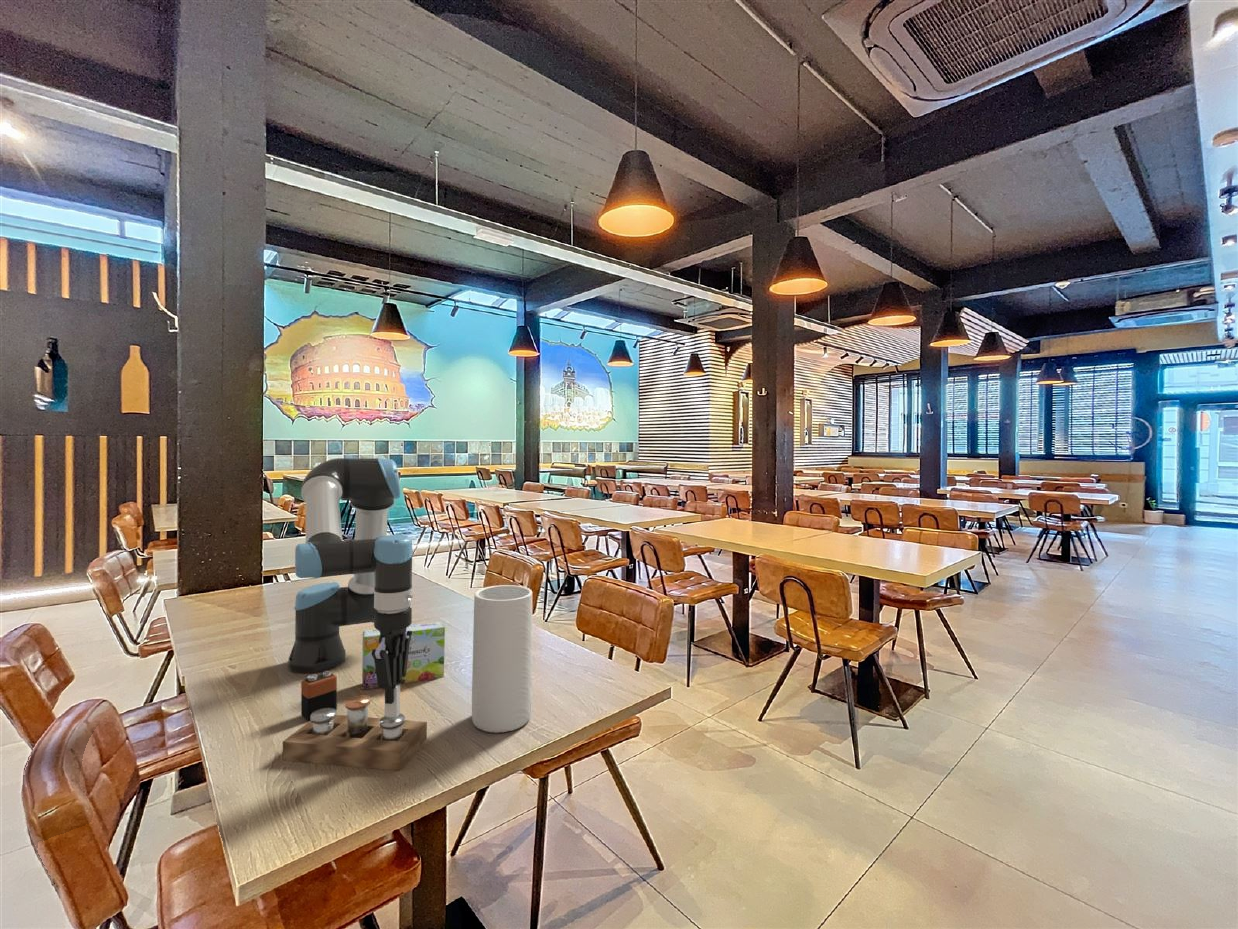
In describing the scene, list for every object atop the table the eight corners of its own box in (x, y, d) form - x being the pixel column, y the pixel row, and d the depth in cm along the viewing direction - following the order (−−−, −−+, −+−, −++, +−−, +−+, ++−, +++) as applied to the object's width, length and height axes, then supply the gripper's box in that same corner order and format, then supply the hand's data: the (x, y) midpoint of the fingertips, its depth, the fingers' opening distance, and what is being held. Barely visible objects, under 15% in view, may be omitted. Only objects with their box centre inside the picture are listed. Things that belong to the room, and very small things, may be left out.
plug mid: (339, 734, 117) (339, 704, 116) (353, 722, 122) (353, 694, 121) (361, 736, 116) (361, 706, 116) (374, 724, 121) (374, 695, 121)
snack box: (363, 691, 146) (363, 636, 146) (362, 683, 151) (362, 630, 151) (444, 677, 156) (445, 626, 155) (441, 670, 161) (441, 620, 160)
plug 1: (305, 747, 118) (305, 718, 117) (320, 735, 123) (320, 707, 122) (326, 749, 117) (326, 720, 117) (340, 737, 122) (341, 708, 122)
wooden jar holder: (282, 760, 114) (282, 741, 114) (319, 730, 126) (319, 713, 126) (400, 770, 112) (400, 751, 112) (426, 739, 124) (426, 722, 124)
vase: (476, 740, 124) (478, 603, 123) (467, 711, 137) (469, 587, 136) (537, 728, 130) (540, 597, 128) (523, 701, 143) (525, 582, 141)
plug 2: (375, 753, 116) (375, 724, 116) (387, 741, 121) (387, 712, 121) (397, 755, 116) (397, 725, 115) (408, 743, 120) (409, 714, 120)
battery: (300, 716, 133) (300, 676, 132) (329, 706, 138) (329, 667, 137) (308, 722, 130) (308, 681, 129) (337, 711, 135) (337, 672, 135)
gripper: (394, 619, 110) (393, 732, 111) (423, 600, 123) (422, 702, 124) (359, 616, 111) (358, 729, 112) (392, 598, 124) (391, 699, 125)
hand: (392, 715), depth 118 cm, fingers closed
